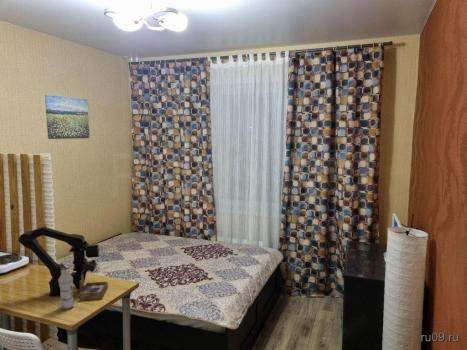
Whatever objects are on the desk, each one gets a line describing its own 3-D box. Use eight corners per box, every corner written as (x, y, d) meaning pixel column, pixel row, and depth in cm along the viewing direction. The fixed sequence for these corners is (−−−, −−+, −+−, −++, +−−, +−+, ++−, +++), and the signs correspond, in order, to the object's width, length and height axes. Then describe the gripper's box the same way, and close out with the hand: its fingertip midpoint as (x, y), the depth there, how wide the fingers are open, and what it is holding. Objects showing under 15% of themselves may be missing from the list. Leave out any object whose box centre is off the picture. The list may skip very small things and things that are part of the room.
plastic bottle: (63, 304, 172) (60, 266, 170) (76, 304, 172) (74, 266, 170) (57, 311, 166) (54, 272, 163) (71, 310, 166) (69, 271, 164)
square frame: (80, 300, 176) (79, 293, 176) (87, 289, 189) (87, 282, 188) (101, 299, 177) (101, 291, 177) (107, 288, 190) (107, 281, 190)
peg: (77, 292, 186) (76, 276, 185) (79, 289, 189) (78, 274, 188) (83, 291, 186) (82, 276, 185) (85, 289, 189) (84, 273, 188)
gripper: (89, 263, 177) (91, 292, 179) (99, 252, 196) (100, 277, 197) (67, 265, 176) (69, 293, 178) (78, 253, 194) (80, 278, 196)
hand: (80, 285), depth 187 cm, fingers open, 9 cm apart
